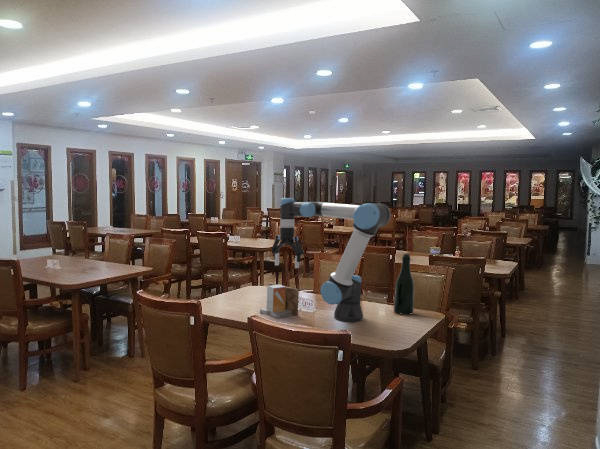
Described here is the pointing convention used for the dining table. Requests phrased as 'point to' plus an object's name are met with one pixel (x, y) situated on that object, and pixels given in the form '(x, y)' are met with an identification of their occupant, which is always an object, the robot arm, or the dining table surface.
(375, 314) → the dining table surface
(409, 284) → the beer bottle
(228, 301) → the dining table surface
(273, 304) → the small box
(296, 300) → the wall board
